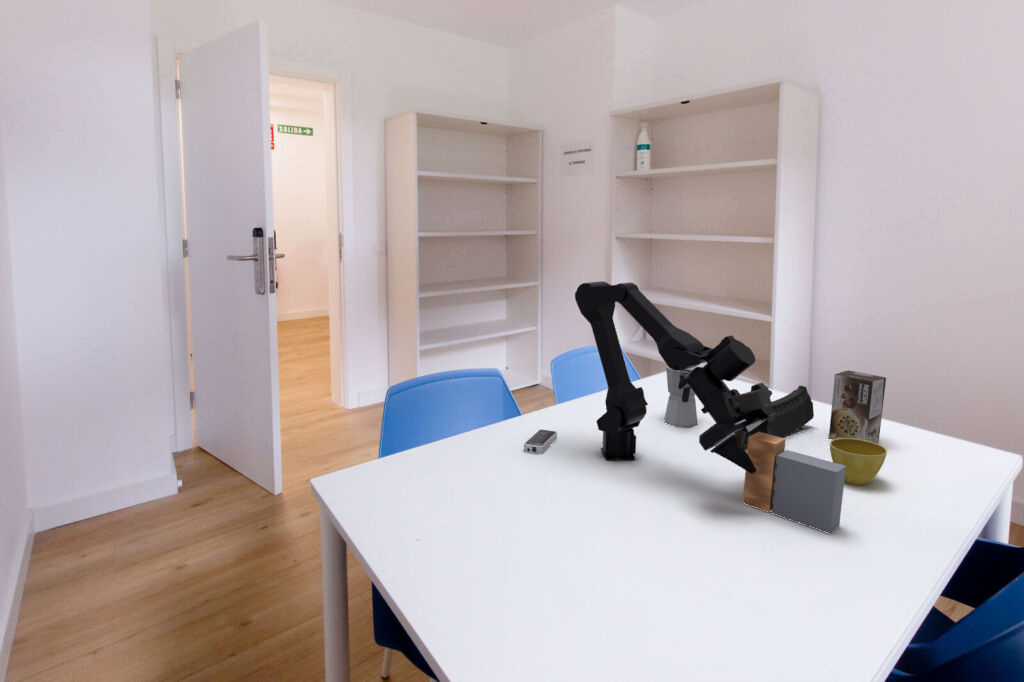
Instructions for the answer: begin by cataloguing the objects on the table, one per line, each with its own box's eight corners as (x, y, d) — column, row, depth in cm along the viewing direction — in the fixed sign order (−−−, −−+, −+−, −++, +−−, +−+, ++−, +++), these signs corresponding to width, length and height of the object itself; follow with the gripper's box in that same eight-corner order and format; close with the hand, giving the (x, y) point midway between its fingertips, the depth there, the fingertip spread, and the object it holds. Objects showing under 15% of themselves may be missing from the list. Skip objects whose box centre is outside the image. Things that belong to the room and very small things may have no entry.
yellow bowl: (815, 474, 129) (818, 441, 127) (849, 467, 133) (853, 435, 131) (858, 494, 120) (863, 458, 118) (894, 485, 124) (899, 451, 122)
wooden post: (742, 503, 115) (748, 436, 113) (753, 497, 118) (758, 431, 116) (769, 512, 112) (775, 444, 109) (779, 506, 114) (785, 438, 112)
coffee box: (879, 444, 146) (888, 377, 143) (865, 449, 143) (874, 381, 140) (841, 433, 154) (848, 369, 151) (827, 438, 150) (834, 372, 147)
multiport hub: (557, 440, 149) (557, 431, 148) (541, 456, 139) (542, 446, 138) (539, 438, 150) (540, 429, 150) (523, 453, 140) (523, 443, 140)
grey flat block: (770, 513, 111) (775, 455, 109) (781, 506, 114) (786, 449, 112) (829, 534, 104) (836, 472, 102) (839, 526, 107) (846, 465, 105)
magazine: (737, 416, 137) (810, 361, 152) (724, 413, 140) (798, 359, 155) (744, 481, 143) (815, 422, 158) (732, 476, 146) (802, 418, 161)
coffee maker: (660, 413, 168) (664, 348, 165) (694, 415, 167) (698, 349, 163) (666, 432, 154) (670, 361, 150) (703, 434, 152) (708, 362, 149)
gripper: (718, 379, 108) (776, 457, 102) (768, 363, 120) (822, 431, 114) (676, 413, 115) (728, 487, 109) (727, 394, 127) (777, 460, 121)
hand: (766, 465), depth 113 cm, fingers open, 9 cm apart
